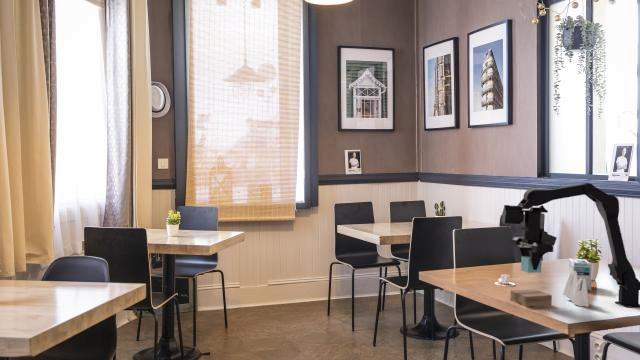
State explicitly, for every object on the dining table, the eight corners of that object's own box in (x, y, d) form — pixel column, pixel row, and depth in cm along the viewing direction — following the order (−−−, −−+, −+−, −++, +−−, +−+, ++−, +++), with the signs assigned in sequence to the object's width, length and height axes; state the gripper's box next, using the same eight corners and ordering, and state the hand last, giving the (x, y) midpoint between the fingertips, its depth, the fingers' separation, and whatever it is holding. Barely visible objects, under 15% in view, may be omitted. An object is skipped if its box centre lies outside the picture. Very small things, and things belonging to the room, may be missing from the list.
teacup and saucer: (498, 281, 257) (498, 272, 257) (517, 284, 253) (517, 274, 253) (492, 285, 250) (492, 275, 250) (512, 288, 246) (512, 277, 246)
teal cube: (541, 272, 218) (541, 258, 218) (528, 272, 217) (528, 258, 217) (533, 269, 223) (534, 256, 222) (521, 270, 222) (521, 256, 222)
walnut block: (551, 306, 216) (551, 295, 215) (525, 308, 213) (525, 296, 213) (535, 300, 225) (535, 289, 225) (510, 301, 223) (510, 290, 223)
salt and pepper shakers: (561, 298, 226) (562, 268, 226) (573, 298, 227) (573, 268, 226) (577, 306, 214) (578, 275, 214) (589, 306, 215) (590, 275, 214)
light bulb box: (591, 290, 240) (592, 263, 240) (573, 289, 241) (573, 262, 241) (585, 285, 251) (586, 258, 250) (567, 284, 252) (568, 258, 251)
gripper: (568, 227, 211) (566, 273, 212) (539, 221, 230) (538, 263, 230) (538, 228, 209) (536, 273, 210) (511, 221, 228) (510, 263, 228)
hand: (531, 268), depth 220 cm, fingers closed on teal cube, 5 cm apart
